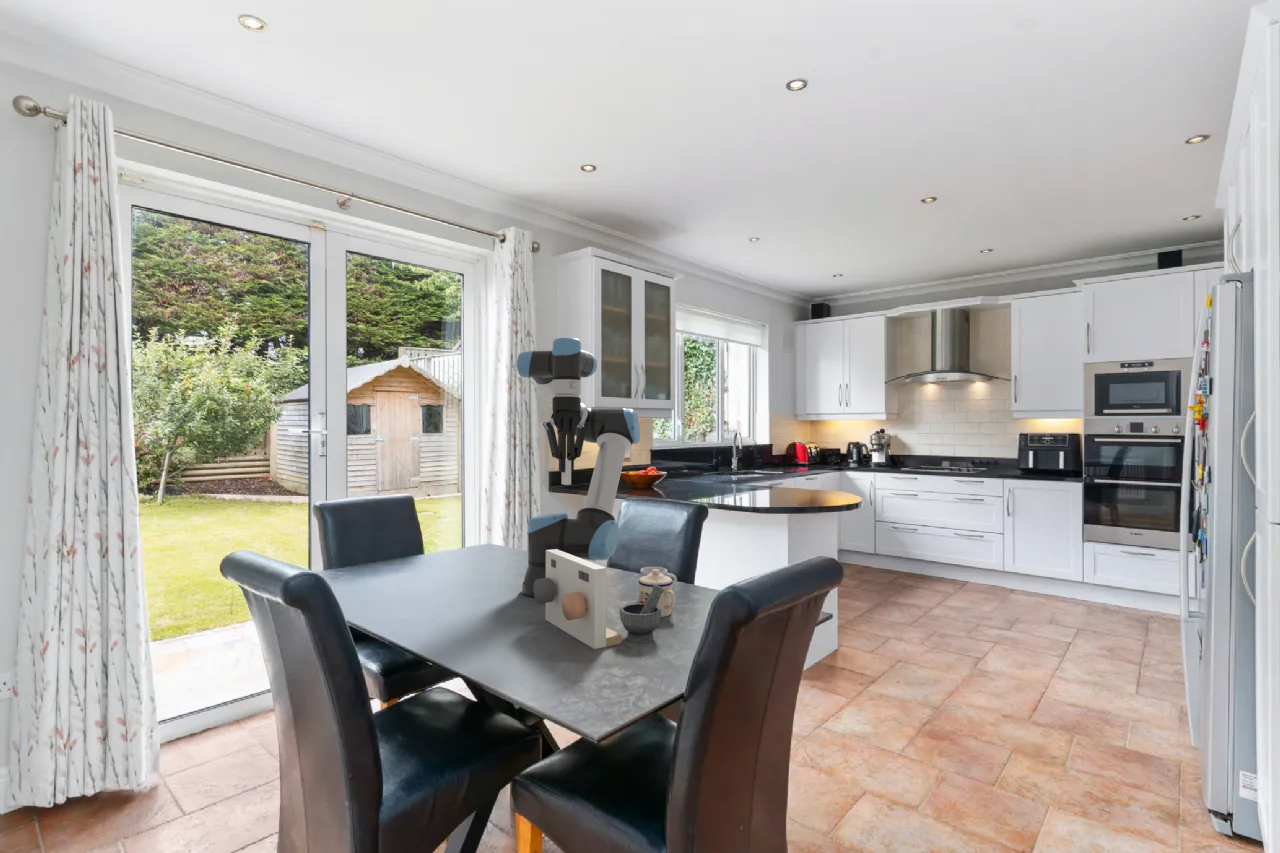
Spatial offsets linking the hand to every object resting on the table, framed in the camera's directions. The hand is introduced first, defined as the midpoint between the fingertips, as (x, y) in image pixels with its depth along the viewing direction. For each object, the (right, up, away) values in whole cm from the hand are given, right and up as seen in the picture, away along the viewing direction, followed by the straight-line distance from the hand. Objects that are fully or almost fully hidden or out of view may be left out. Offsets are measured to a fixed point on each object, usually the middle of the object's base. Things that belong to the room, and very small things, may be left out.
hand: (566, 484), depth 176 cm
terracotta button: (+7, -29, -24) cm, 38 cm away
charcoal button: (-2, -29, -10) cm, 30 cm away
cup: (+25, -35, +16) cm, 46 cm away
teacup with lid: (+25, -35, -1) cm, 43 cm away
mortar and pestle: (+20, -35, -20) cm, 45 cm away
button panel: (+5, -35, -15) cm, 38 cm away
